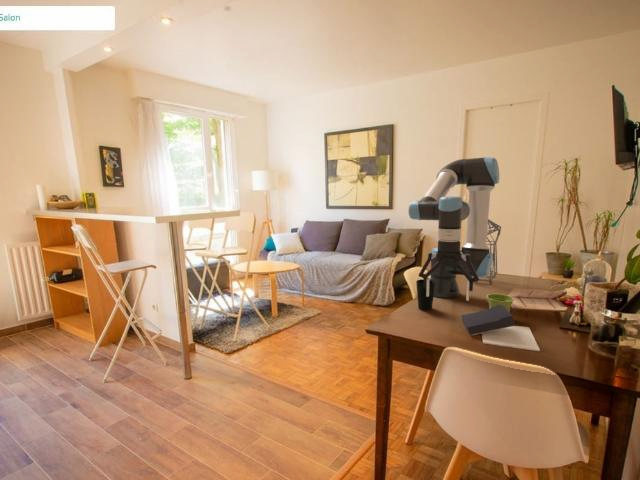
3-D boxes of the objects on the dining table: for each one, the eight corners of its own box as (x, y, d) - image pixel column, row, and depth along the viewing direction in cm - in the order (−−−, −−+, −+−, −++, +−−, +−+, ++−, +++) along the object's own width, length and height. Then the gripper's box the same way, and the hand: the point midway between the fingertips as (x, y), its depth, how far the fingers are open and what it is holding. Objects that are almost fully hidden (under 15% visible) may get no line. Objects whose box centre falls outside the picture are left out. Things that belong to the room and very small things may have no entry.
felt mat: (480, 322, 125) (480, 321, 125) (528, 328, 119) (528, 327, 119) (483, 343, 109) (483, 341, 109) (539, 351, 103) (539, 349, 103)
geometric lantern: (497, 287, 168) (501, 219, 162) (464, 283, 176) (466, 218, 171) (499, 280, 181) (503, 216, 176) (468, 276, 189) (470, 216, 184)
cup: (434, 306, 144) (435, 279, 142) (434, 312, 137) (435, 284, 135) (416, 304, 147) (416, 278, 145) (415, 310, 139) (415, 283, 138)
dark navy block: (470, 337, 114) (516, 327, 111) (466, 325, 114) (513, 315, 110) (463, 324, 125) (505, 315, 121) (460, 313, 124) (502, 304, 121)
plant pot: (487, 321, 126) (488, 300, 125) (484, 312, 135) (485, 292, 134) (514, 324, 123) (516, 302, 122) (509, 315, 132) (511, 294, 130)
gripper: (411, 240, 118) (410, 296, 122) (489, 243, 108) (485, 304, 112) (414, 237, 125) (413, 291, 128) (487, 239, 115) (484, 297, 118)
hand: (447, 297), depth 120 cm, fingers open, 13 cm apart
